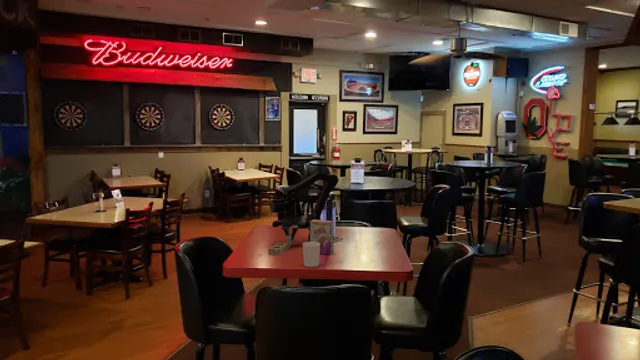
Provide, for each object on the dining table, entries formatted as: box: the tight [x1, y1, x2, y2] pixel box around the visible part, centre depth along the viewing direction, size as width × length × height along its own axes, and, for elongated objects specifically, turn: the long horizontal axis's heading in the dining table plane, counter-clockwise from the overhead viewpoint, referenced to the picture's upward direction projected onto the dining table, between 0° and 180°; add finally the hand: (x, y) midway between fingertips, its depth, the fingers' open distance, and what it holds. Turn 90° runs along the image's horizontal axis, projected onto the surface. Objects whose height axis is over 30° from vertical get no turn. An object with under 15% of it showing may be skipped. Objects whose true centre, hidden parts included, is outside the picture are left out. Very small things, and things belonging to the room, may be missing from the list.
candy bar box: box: [309, 219, 335, 256], centre depth 241 cm, size 11×5×16 cm, turn 71°
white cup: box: [302, 241, 321, 268], centre depth 220 cm, size 8×8×10 cm
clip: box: [285, 232, 295, 248], centre depth 257 cm, size 2×8×6 cm, turn 165°
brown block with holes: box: [267, 242, 290, 256], centre depth 244 cm, size 6×14×3 cm, turn 165°
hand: (290, 240), depth 257 cm, fingers closed on clip, 2 cm apart
